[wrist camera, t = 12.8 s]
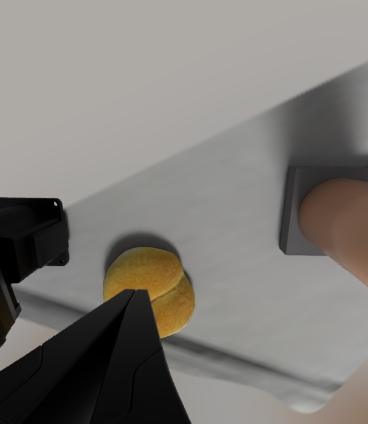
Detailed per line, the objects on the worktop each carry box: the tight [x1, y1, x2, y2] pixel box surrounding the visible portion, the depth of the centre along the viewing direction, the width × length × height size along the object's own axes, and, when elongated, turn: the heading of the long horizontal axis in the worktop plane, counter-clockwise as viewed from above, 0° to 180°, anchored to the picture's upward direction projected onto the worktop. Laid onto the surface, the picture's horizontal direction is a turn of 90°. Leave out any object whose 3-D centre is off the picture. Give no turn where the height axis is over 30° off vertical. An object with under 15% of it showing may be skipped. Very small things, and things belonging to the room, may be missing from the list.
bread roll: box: [103, 247, 195, 339], centre depth 21 cm, size 8×9×4 cm
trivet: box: [280, 166, 368, 256], centre depth 20 cm, size 8×8×2 cm
